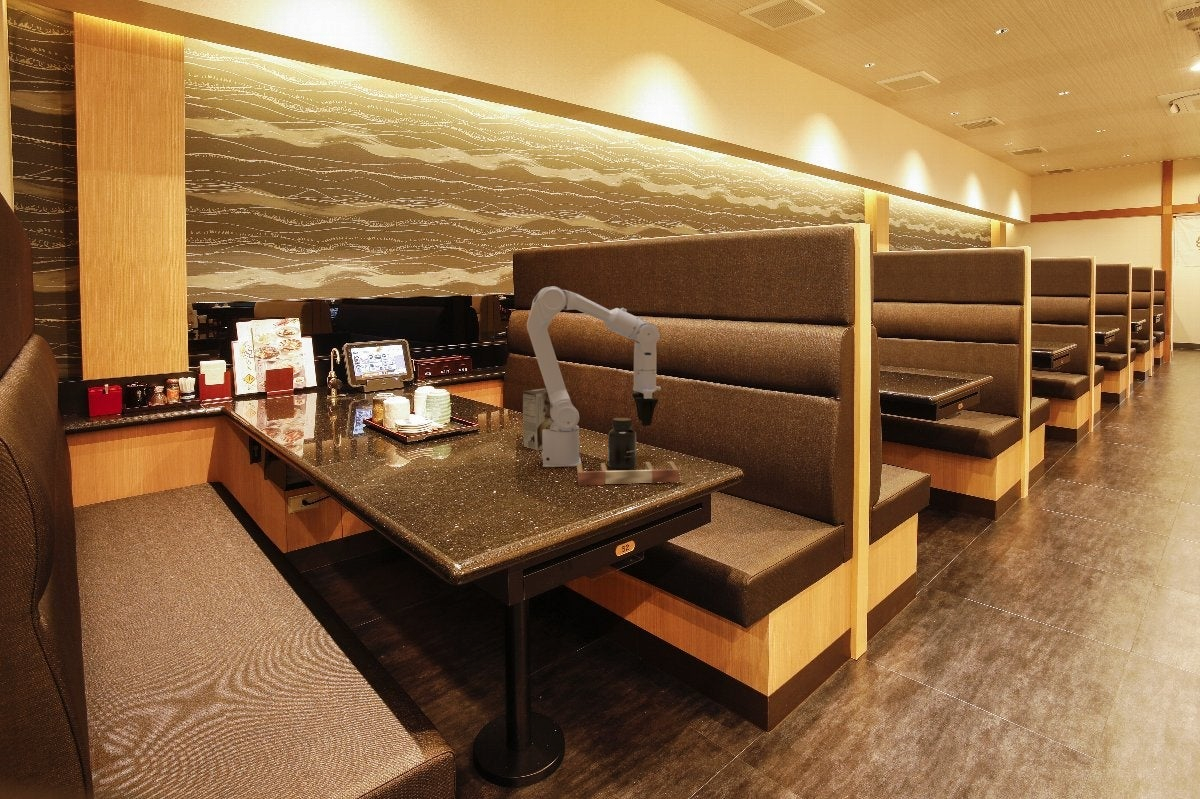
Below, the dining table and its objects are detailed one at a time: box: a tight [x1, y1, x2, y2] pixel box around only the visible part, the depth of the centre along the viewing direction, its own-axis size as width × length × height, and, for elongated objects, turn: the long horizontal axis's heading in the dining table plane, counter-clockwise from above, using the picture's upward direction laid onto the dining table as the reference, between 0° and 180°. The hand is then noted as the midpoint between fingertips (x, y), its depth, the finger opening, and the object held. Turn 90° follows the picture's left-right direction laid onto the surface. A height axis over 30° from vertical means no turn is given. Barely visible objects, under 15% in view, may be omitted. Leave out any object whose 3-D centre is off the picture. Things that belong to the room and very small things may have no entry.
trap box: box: [576, 460, 680, 487], centre depth 158 cm, size 22×8×3 cm, turn 93°
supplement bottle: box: [607, 417, 637, 470], centre depth 169 cm, size 7×7×12 cm
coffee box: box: [521, 387, 554, 451], centre depth 192 cm, size 9×6×16 cm
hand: (644, 422), depth 177 cm, fingers open, 7 cm apart
